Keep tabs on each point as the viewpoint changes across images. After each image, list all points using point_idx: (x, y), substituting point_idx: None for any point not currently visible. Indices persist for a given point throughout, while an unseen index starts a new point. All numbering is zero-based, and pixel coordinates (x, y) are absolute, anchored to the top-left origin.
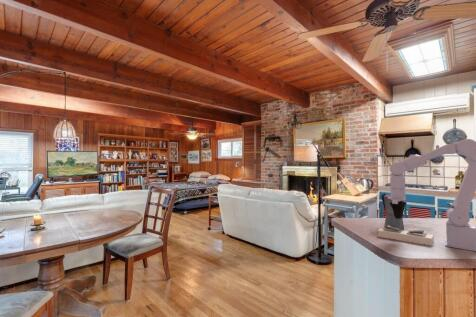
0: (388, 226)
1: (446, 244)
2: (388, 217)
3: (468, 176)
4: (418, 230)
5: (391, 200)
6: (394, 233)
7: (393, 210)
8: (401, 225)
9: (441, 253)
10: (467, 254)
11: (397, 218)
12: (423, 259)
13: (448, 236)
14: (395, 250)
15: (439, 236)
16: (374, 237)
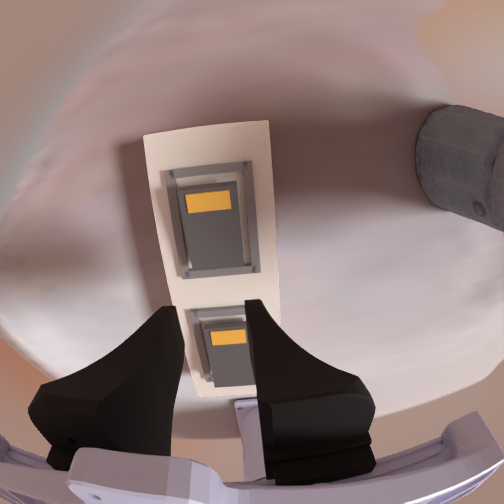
0: (189, 205)
1: (248, 404)
2: (477, 140)
3: None
4: (243, 366)
5: None
6: (160, 246)
7: (113, 354)
8: (454, 211)
9: None
10: (188, 434)
11: (472, 207)
12: (27, 359)
13: (255, 434)
14: (18, 285)
15: (401, 353)
16: (120, 129)
